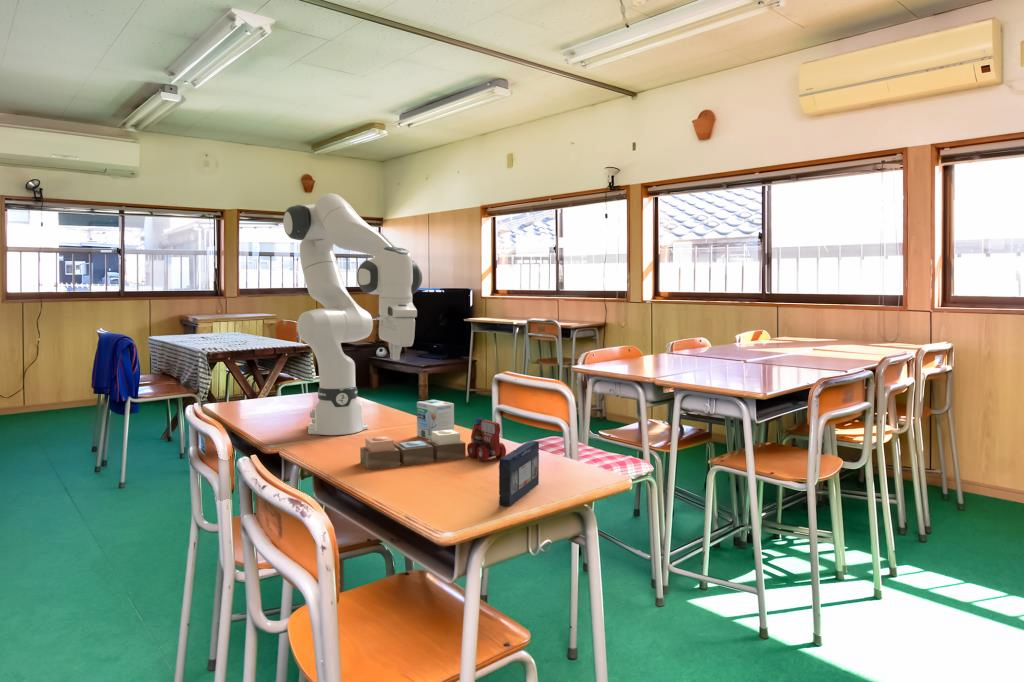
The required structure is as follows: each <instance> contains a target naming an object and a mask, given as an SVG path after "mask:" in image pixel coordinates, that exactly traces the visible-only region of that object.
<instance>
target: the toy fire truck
mask: <svg viewBox="0 0 1024 682" xmlns="http://www.w3.org/2000/svg"><path fill="white" fill-rule="evenodd" d="M472 426H473V427H472V430H471V434H470V435H471V436H470V440H471V441H470V442H469V443H468V444H467V445H466V446H467V448H466V451H467V454H468V456H469V457H470V458H471V459H472V458H473V459H474V458H477V459H478V460H479V462H481V463H484V462H487V461H488V460H489V458H492V457H495V458H496V459H501V458H503V457H504V456H506V455H507V448H506V446H505V444H504V443H502V442H500V441H501V439H500V434H501V425H500V422H496V421H491V420H488V419H484V420H483V418H482V417H477V418H476V420H475V423H474V424H473V425H472Z"/></svg>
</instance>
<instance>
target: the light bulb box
mask: <svg viewBox="0 0 1024 682" xmlns="http://www.w3.org/2000/svg"><path fill="white" fill-rule="evenodd" d="M451 429H452V430H454V431H455V404H454V403H452V402H449V401H443V400H437V399H430V400H429V399H428V400H422V401H420V400H419V401H417V402H416V436H417V437H419V438H423V439H426V440H432V431H441V430H451Z"/></svg>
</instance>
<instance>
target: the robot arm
mask: <svg viewBox="0 0 1024 682" xmlns="http://www.w3.org/2000/svg"><path fill="white" fill-rule="evenodd" d="M282 223H283V228H284V231H285V234H286V235H287V236H288V238H290V239H292V240H296V241H301V242H300V243H299V257H300V264H301V268H302V270H301V271H302V273H303V276H304V281H305V284H306V288H307V291H308V295H309V296H310V298H312V299H313V300H315V301H317V302H318V303H320V304H321V305H322V306H323V308H315V309H309V310H307V311H304V312H302V313H301V314H300V315H299V317H298V320H297V321H296V322H297V323H296V331H297V334H298V336H299V338H300V339H301V340H302V341H303V342H304V343H305V344H307V345H308V346H309V347H310V349H311V350H312V352H313V354H314V356H315V358H316V363H317V366H318V379H319V382H318V384H319V387H318V389H317V399H318V401H317V402H316V405H315V406H314V409H311V410H309V418H310V419H311V422H308V429H307V434H308V435H322V436H342V435H343V436H344V435H351V434H355V433H356V434H357V433H359V432H361V431H363V430H367V429H369V425H368V424H365V423H364V414H363V404H362V402H360V401H359V399H357V398H358V387H357V386H356V363H355V360H353V358H351V357H350V356H348V355H347V354H346V353H344V351H343V348H342V343H354V342H358V341H361V340H364V339H367V338H368V337H369V336H370V335H371V334H372V331H373V327H374V321H373V317H372V315H371V313H370V312H368V311H367V310H366V309H364V308H362V307H361V306H360V305H359V304H358V303H357V302H356V301H355V300H354V299H353V297H352V296H351V295H350V293H349V292H348V290H347V288H346V285H345V284H344V283H345V282H344V281H343V278H342V275H341V271H340V266H339V263H338V260H337V257H336V254H335V251H334V245H335V246H336V247H338V248H340V249H343V250H346V251H352V252H356V253H363V254H367V255H370V256H373V257H372V258H370V259H367V260H364V261H363V262H362V263H361V264H360V265H359V267H358V268H357V272H356V273H357V274H356V280H357V285H358V286H359V288H360V290H361V291H362V292H363V293H364V294H368V295H378V315H379V322H378V338H379V339H380V340H382V341H384V342H387V343H388V349H389V353H390V354H389V355H390V356H389V358H390V360H393V361H400V360H401V352H402V348H406V347H407V348H408V347H412V346H413V344H414V340H415V331H416V320H415V318H417V317H418V310H417V308H416V306H415V305H414V303H413V299H414V298H413V295H414V294H415V293H416V292H417V291H418V290H419V288H420V287H421V285H422V282H423V273H422V271H421V269H420V266H419V265H418V264H417V262H415V261H414V260H413V258H412V254H411V251H409V250H408V249H405V248H402V247H397V246H396V245H394V244H393V243H392V242H391V241H390V240H389V239H388V238H387V237H386V236H385V235H384V234H383V233H381V232H380V231H378V230H377V229H376V228H374V227H372V226H371V225H370V224H368V223H367V221H365V220H364V219H363V218H362V217H361V216H360V215H359V214H358V213H357V212H356V210H355V209H354V208H353V206H351V204H350V203H349V202H348V201H347V200H346V199H345V198H343V197H342V196H341V195H339V194H336V193H325V194H323V195H321V196H320V197H319V198H318V199H317V200H316V202H315V203H314V204H313V203H312V204H303V205H302V204H296V205H292V206H289V207H288V208H287V209H286V210H285V211H284V213H283V219H282Z"/></svg>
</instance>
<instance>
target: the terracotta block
mask: <svg viewBox="0 0 1024 682" xmlns="http://www.w3.org/2000/svg"><path fill="white" fill-rule="evenodd" d="M364 440H365V442H364V443H365V447H366V450H368V451H369V452H370V453H374V452H383V451H392V450H394V444H395V440H394V439H393V438H391V437H389V436H388V435H385V436H373V437H366V438H365V439H364Z"/></svg>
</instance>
